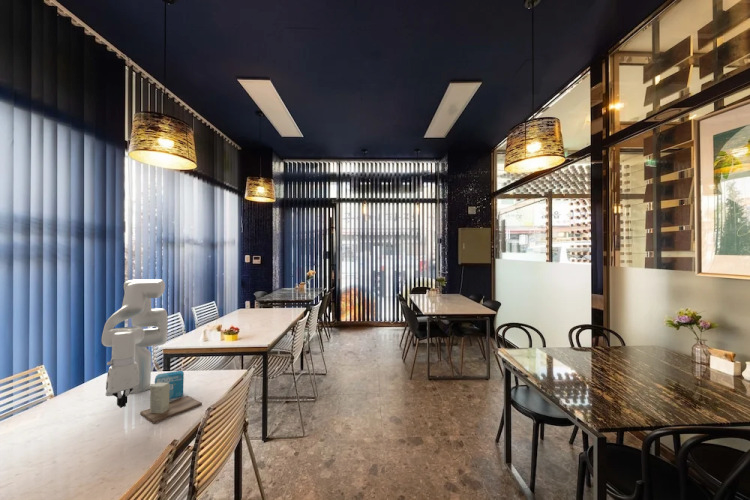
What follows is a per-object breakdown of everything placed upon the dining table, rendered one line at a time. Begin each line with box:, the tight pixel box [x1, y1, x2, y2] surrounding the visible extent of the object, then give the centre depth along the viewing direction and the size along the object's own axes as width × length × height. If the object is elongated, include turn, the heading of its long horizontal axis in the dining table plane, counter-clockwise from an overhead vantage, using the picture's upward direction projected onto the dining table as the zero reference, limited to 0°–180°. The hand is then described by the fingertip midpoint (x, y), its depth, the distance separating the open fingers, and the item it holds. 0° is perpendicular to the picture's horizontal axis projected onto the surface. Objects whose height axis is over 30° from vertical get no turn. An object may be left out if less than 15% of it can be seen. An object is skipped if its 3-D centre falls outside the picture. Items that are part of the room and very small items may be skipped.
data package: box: [154, 370, 185, 400], centre depth 153 cm, size 12×4×12 cm, turn 122°
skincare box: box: [149, 382, 170, 414], centre depth 137 cm, size 6×4×12 cm
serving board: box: [139, 395, 203, 425], centre depth 141 cm, size 14×20×1 cm
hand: (122, 406), depth 125 cm, fingers closed
